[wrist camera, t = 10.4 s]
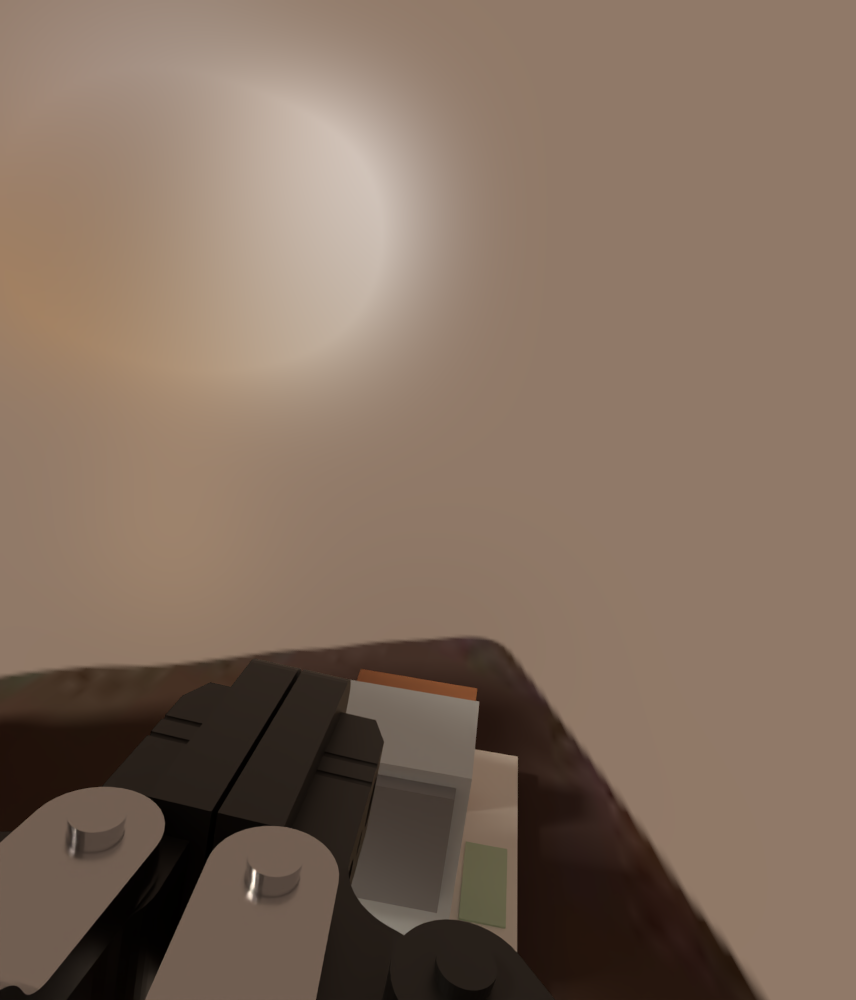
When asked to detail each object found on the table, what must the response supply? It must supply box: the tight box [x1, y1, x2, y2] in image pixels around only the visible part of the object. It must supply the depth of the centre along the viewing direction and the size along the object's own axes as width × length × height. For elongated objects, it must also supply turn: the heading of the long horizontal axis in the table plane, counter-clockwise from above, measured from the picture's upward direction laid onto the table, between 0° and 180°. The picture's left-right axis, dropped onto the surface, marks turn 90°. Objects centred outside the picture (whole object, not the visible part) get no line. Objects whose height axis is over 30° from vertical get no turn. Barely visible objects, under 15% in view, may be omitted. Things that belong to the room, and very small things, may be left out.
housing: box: [449, 749, 518, 952], centre depth 33 cm, size 22×12×2 cm, turn 173°
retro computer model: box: [346, 680, 479, 935], centre depth 30 cm, size 6×6×9 cm
